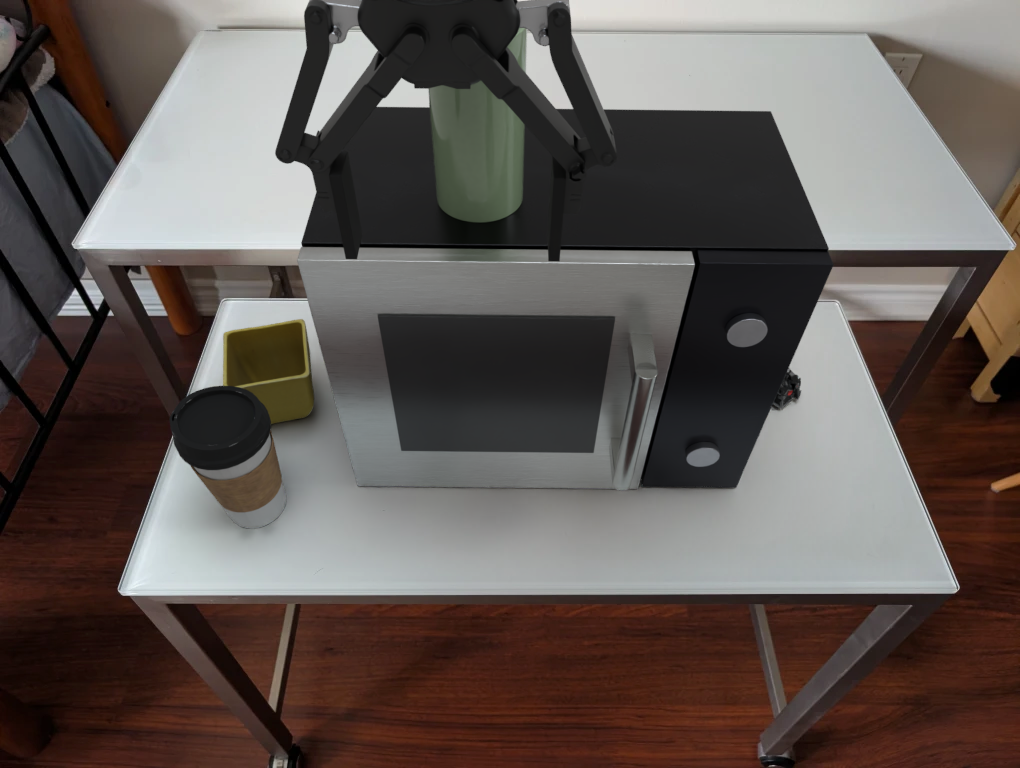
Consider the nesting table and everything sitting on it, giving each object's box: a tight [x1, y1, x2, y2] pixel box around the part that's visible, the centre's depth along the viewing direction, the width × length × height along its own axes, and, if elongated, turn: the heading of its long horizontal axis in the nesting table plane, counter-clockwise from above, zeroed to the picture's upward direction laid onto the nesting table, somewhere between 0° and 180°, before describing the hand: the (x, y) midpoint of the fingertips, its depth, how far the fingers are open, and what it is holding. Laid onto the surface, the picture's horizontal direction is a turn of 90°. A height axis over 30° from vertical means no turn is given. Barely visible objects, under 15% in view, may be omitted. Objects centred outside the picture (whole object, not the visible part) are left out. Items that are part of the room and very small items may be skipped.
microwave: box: [300, 106, 835, 489], centre depth 74 cm, size 22×40×31 cm, turn 90°
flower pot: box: [222, 318, 315, 425], centre depth 82 cm, size 9×9×9 cm
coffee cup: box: [169, 385, 287, 529], centre depth 72 cm, size 8×8×15 cm
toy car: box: [773, 367, 802, 410], centre depth 88 cm, size 6×12×4 cm, turn 1°
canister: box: [427, 28, 528, 223], centre depth 55 cm, size 7×7×14 cm
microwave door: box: [296, 246, 695, 492], centre depth 66 cm, size 6×30×31 cm, turn 90°
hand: (453, 247), depth 51 cm, fingers open, 13 cm apart
